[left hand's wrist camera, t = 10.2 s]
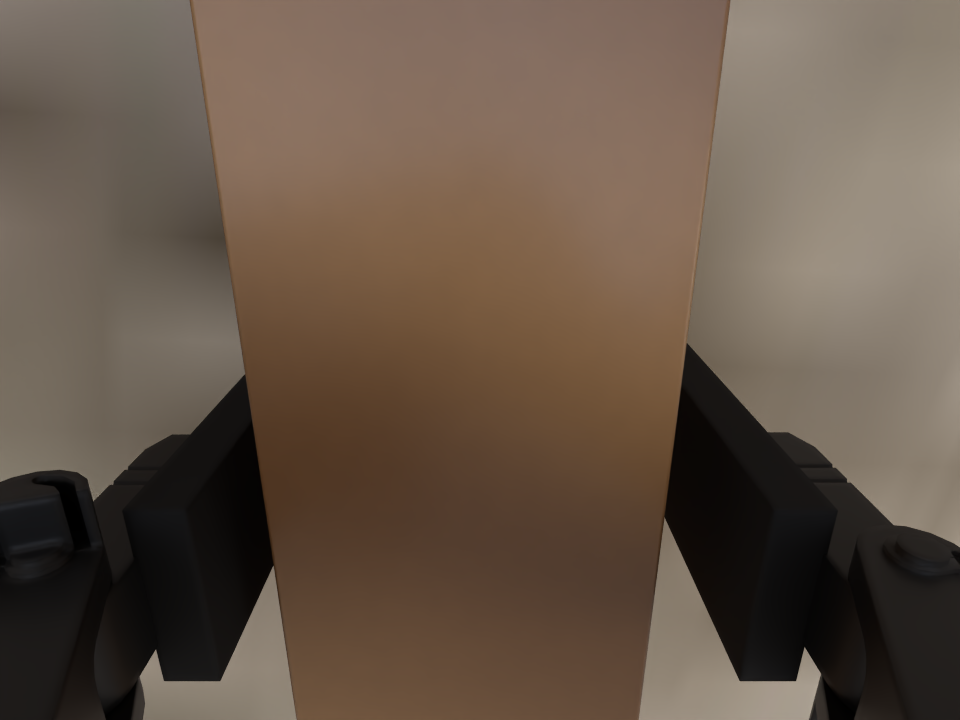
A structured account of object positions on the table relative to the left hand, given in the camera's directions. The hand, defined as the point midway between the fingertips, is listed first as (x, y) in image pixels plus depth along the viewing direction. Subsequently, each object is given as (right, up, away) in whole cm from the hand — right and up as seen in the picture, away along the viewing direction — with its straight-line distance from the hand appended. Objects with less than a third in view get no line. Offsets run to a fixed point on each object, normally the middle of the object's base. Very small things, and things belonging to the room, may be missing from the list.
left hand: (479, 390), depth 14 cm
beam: (0, +33, -11) cm, 35 cm away
